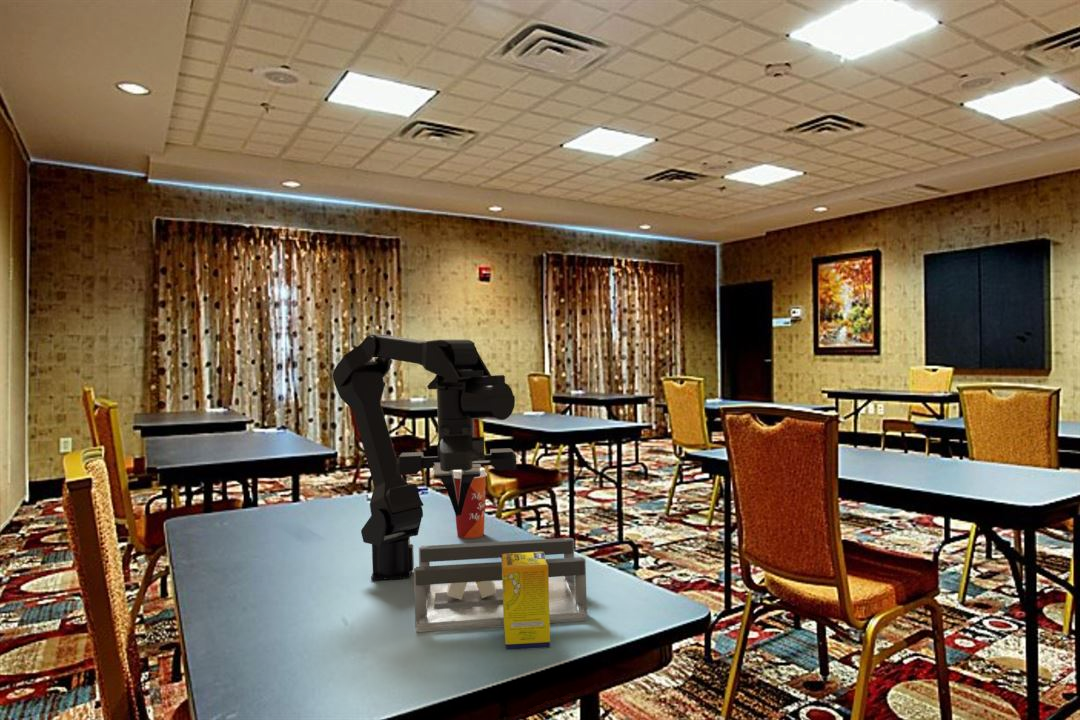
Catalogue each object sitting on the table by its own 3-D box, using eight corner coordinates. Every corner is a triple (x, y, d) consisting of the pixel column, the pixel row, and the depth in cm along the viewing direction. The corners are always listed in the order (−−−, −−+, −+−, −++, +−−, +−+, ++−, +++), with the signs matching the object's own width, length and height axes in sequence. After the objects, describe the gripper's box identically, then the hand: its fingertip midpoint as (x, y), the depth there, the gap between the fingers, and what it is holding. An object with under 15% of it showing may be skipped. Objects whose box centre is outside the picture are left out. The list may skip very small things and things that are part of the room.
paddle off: (482, 598, 104) (474, 579, 104) (481, 590, 107) (474, 572, 107) (496, 592, 104) (488, 574, 104) (495, 585, 107) (487, 567, 107)
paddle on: (447, 595, 103) (453, 576, 103) (447, 588, 107) (453, 569, 107) (461, 599, 103) (467, 580, 104) (461, 592, 107) (467, 573, 107)
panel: (416, 632, 97) (416, 619, 97) (423, 593, 112) (422, 582, 112) (587, 620, 99) (587, 607, 99) (570, 583, 115) (570, 572, 115)
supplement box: (503, 633, 96) (500, 553, 96) (546, 630, 96) (544, 550, 96) (504, 651, 90) (502, 566, 90) (551, 648, 90) (548, 563, 90)
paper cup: (483, 540, 144) (481, 472, 143) (447, 539, 145) (445, 472, 145) (493, 530, 151) (491, 466, 151) (459, 530, 153) (457, 466, 153)
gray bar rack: (414, 628, 98) (413, 571, 98) (420, 596, 111) (419, 546, 111) (588, 616, 101) (586, 560, 101) (573, 586, 114) (572, 537, 114)
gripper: (391, 425, 103) (394, 530, 103) (517, 420, 105) (520, 524, 105) (398, 418, 114) (400, 513, 114) (512, 414, 116) (515, 508, 116)
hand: (458, 515), depth 112 cm, fingers closed
